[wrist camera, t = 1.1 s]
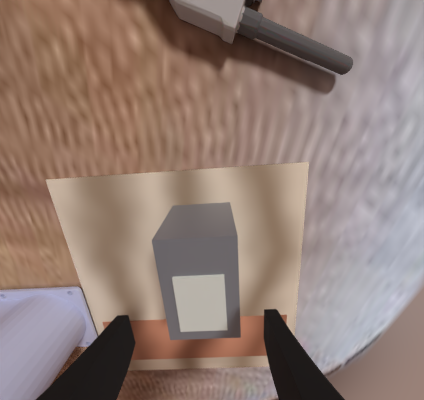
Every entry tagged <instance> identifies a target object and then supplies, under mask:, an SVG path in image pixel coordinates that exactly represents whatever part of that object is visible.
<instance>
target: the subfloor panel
mask: <svg viewBox="0 0 424 400" xmlns="http://www.w3.org/2000/svg"><path fill="white" fill-rule="evenodd" d="M308 168H309V162H301V163H286V164H271V165H256V166H242V167H227V168H212V169H197V170H182V171H167V172H152V173H137V174H122V175H107V176H93V177H78V178H63V179H48V180H46V183H47V186H48V189H49V192H50V194H51V197H52V200H53V203H54V206H55V209H56V212H57V215H58V218H59V221H60V224H61V227H62V230H63V233H64V236H65V239H66V241H67V244H68V247H69V250H70V253H71V256H72V259H73V262H74V265H75V268H76V271H77V274H78V277H79V280H80V283H81V285H82V288H83V291H84V294H85V297H86V300H87V303H88V306H89V309H90V312H91V315H92V318H93V321H94V324H95V327H96V330H97V332H98V335H100V334H101V333H102V331H103V330H104V329H105V328H106V327H107V326H108V325H109V324H110V323H111V322H112V321H113V319H114V318H115V317H116V316H117V315H128V316H129V320H130V323H131V327H132V331H133V335H134V338H135V342H136V343H135V347H134V351H133V355H132V358H131V362H130V365H129V368H128V371H136V370H169V369H202V368H235V367H268V366H269V363H268V358H267V353H266V348H265V343H264V309H277V310H278V312H279V313H280V315H281V317H282V318H283V320H284V321H285V323H286V325H287V326H288V328H289V329H290V331H291V332H292V333H293V335H294V334H295V322H296V311H297V299H298V287H299V275H300V263H301V251H302V239H303V228H304V216H305V204H306V192H307V180H308ZM225 202H230V205H231V209H232V213H233V218H234V222H235V227H236V231H237V235H238V264H239V295H240V327H241V338H215V339H188V340H170V336H169V331H168V326H167V320H166V315H165V310H164V304H163V299H162V293H161V288H160V283H159V277H158V272H157V267H156V261H155V256H154V251H153V245H152V239H153V237H154V236H155V234H156V232H157V231H158V229H159V228H160V226H161V224H162V223H163V221H164V219H165V218H166V216H167V214H168V213H169V211H170V209H171V208H172V206H175V205H192V204H208V203H225Z"/></svg>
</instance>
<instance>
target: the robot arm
mask: <svg viewBox="0 0 424 400" xmlns="http://www.w3.org/2000/svg"><path fill="white" fill-rule="evenodd" d="M135 343H136V342H135V338H134V335H133V331H132V327H131V323H130V320H129V316H128V315H117V316H116V317H115V318H114V319H113V321H112V322H111V323H110V324H109V325H108V326H107V327H106V328H105V329H104V330H103V331H102V333H101V334H100V335H99V336H97V333H96V330H95V327H94V324H93V321H92V319H91V316H90V313H89V310H88V307H87V304H86V301H85V298H84V295H83V292H82V290H81V288H79V287H57V288H35V289H14V290H0V400H116V399H117V397H118V394H119V392H120V389H121V386H122V384H123V381H124V379H125V376H126V373H127V371H128V368H129V365H130V362H131V358H132V355H133V351H134V347H135ZM264 343H265V348H266V353H267V358H268V363H269V366H270V370H271V373H272V377H273V380H274V384H275V387H276V391H277V394H278V398H279V400H345V399H344V398H343V397H342V396H341V395H340V394H339V393H338V392H337V390H336V389H335V388H334V387H333V386H332V384H331V383H330V382H329V381H328V380H327V378H326V377H325V376H324V375H323V373H322V372H321V371H320V370H319V368H318V367H317V366H316V365H315V363H314V362H313V361H312V360H311V358H310V357H309V356H308V354H307V353H306V352H305V350H304V349H303V347H302V346H301V345H300V343H299V342H298V341H297V339H296V338H295V336H294V335H293V333H292V332H291V331H290V329H289V328H288V326H287V325H286V323H285V321H284V320H283V318H282V317H281V315H280V313H279V312H278V310H277V309H264ZM85 346H89V347H88V348H87V349H86V350H85V351H84V352H83V353H82V354H81V355H80V356H79V357H78V358H77V360H76V361H75V362H74V363H73V364H72V365H71V366H70V367H69V368H68V369H67V370H66V371H65V372H64V373H63V374H62V375H61V376H60V377H59V378H58V379H57V380H56V381H55V382H54V383H53V384H52V382H53V381H54V379H55V378H56V376H57V375H58V373H59V372H60V370H61V369H62V367H63V366H64V364H65V363H66V361H67V360H68V358H69V356H70V355H71V353H72V352H73V350H74V349H75V347H85ZM51 384H52V385H51ZM50 385H51V386H50Z"/></svg>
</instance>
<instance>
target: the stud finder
mask: <svg viewBox="0 0 424 400" xmlns="http://www.w3.org/2000/svg"><path fill="white" fill-rule="evenodd" d="M152 245H153V251H154V256H155V261H156V267H157V272H158V277H159V283H160V288H161V293H162V299H163V304H164V310H165V315H166V320H167V326H168V331H169V336H170V340H188V339H215V338H241V327H240V295H239V264H238V235H237V231H236V227H235V222H234V218H233V213H232V209H231V205H230V202H225V203H208V204H192V205H175V206H172V208H171V209H170V211H169V213H168V214H167V216H166V218H165V219H164V221H163V223H162V224H161V226H160V228H159V229H158V231H157V232H156V234H155V236H154V237H153V239H152Z"/></svg>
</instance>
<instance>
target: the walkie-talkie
mask: <svg viewBox="0 0 424 400" xmlns="http://www.w3.org/2000/svg"><path fill="white" fill-rule="evenodd" d="M252 1H253V3H255V0H169V2H170V4H171V5H172V7H173V9H174V10H175V12H176V14H177V16H178V17H179V19H181V20H184V21H186V22H188V23H191V24H193V25H195V26H198V27H200V28H202V29H204V30H207V31H209V32H211V33H214V34H216V35H218V36H220V37H221V38H222V40H223V41H225V42H228V43H230V44H232V43H233V40H234V37H235V34H236V33H238V34H241V35H243V36H245V37H248V38H250V39H252V40H253V39H255V38H257V39H259V40H261V41H264V42H266V43H268V44H271V45H273V46H275V47H277V48H280V49H282V50H284V51H286V52H289V53H291V54H293V55H295V56H298V57H300V58H302V59H305V60H307V61H310V62H313V63H315V64H317V65H320V66H322V67H324V68H327V69H329V70H331V71H334V72H336V73H338V74H340V75H343V74H346V73H347V72H348V71H349V70H350V69H351V68H352V65H353V59H352V58H351V57H349V56H347V55H345V54H343V53H340V52H338V51H336V50H334V49H332V48H329V47H327V46H325V45H323V44H321V43H318V42H316V41H314V40H312V39H310V38H308V37H305V36H303V35H301V34H299V33H297V32H294V31H292V30H290V29H288V28H286V27H283V26H281V25H279V24H277V23H275V22H272V21H270V20H268V19H266V18H264V17H263V15H262V14H261V13H259V12H257V11H254V10H252V9H250V8H248V7H247V6H250V5H251V4H252ZM256 1H259V2H262V0H256Z"/></svg>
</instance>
